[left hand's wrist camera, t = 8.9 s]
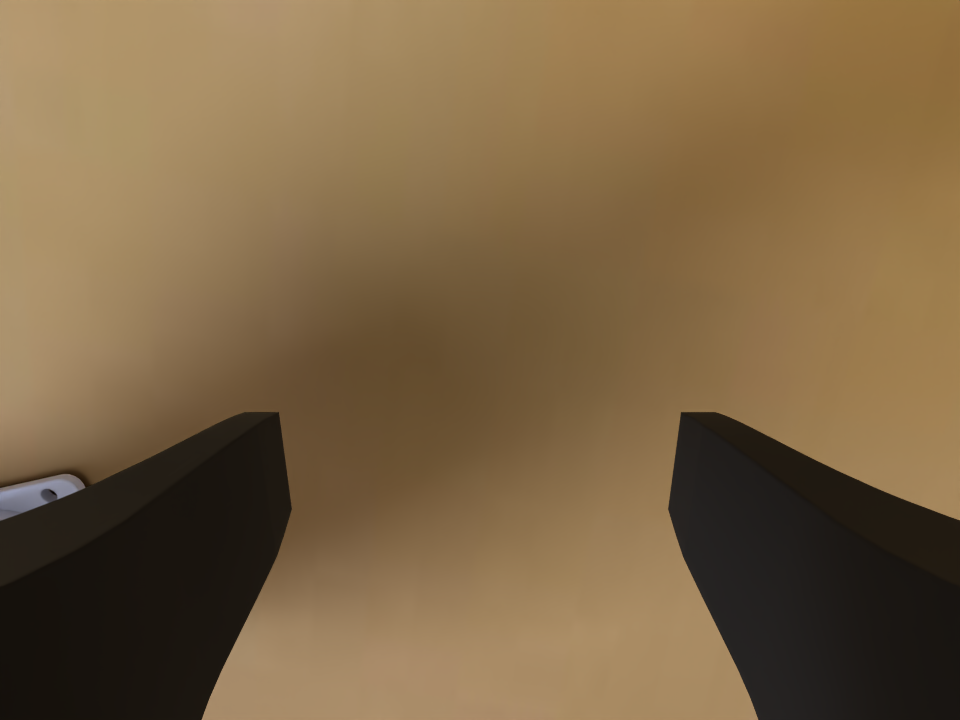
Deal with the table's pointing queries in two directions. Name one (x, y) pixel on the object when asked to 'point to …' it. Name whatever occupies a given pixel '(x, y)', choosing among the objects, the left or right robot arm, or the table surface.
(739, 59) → the table surface
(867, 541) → the left robot arm
